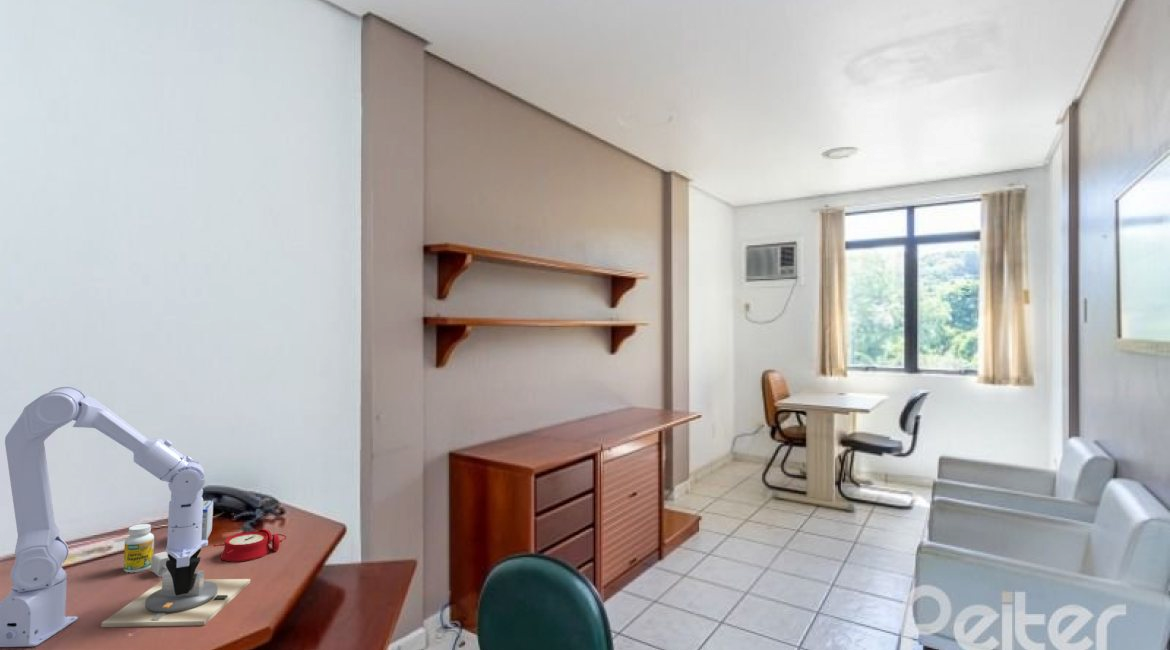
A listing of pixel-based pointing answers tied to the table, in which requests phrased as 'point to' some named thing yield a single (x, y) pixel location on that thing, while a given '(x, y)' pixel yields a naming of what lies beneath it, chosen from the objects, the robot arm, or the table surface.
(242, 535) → the alarm clock
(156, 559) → the usb wall charger
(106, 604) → the table surface
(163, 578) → the twist dial
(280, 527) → the table surface
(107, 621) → the plate
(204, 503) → the medicine box
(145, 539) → the supplement bottle
